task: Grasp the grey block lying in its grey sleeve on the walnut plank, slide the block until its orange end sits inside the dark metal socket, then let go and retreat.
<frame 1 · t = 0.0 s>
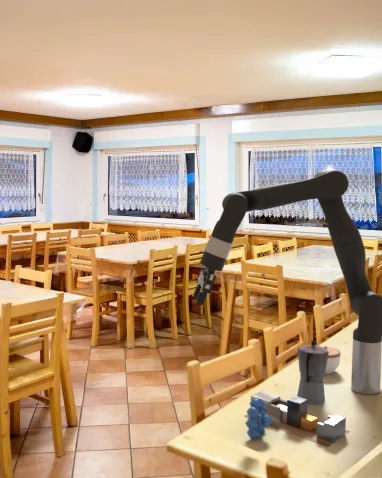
hand: (197, 301, 172), 31 cm above the table, tool tilted 20°, fingers open, 8 cm apart
grey block: (285, 408, 155), point 5 cm above the table, slide at 0.0 cm
moka pot: (311, 404, 170), on the table
plank and sleeve: (295, 428, 153), on the table
socket: (329, 440, 146), resting on plank and sleeve
grapes: (259, 441, 146), on the table
lidded jar: (324, 371, 200), on the table
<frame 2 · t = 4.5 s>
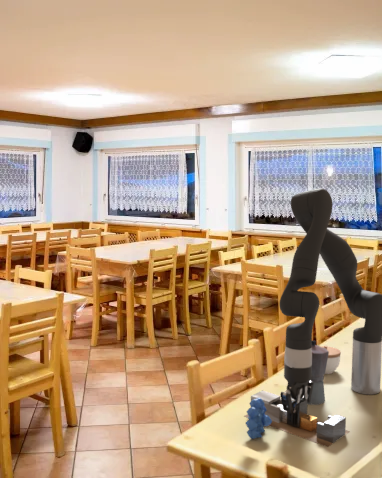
hand: (296, 421, 153), 2 cm above the table, tool pointing down, fingers closed on grey block, 4 cm apart
grey block: (285, 408, 155), point 5 cm above the table, slide at 0.0 cm, touching gripper
everything else where it was.
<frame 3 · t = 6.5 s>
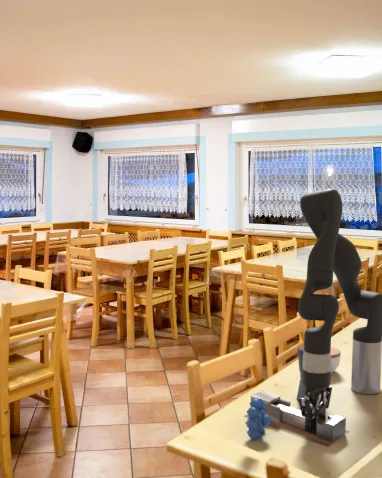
hand: (315, 427, 149), 2 cm above the table, tool pointing down, fingers closed on grey block, 4 cm apart
grey block: (303, 413, 151), point 5 cm above the table, slide at 5.8 cm, touching gripper
everything else where it was.
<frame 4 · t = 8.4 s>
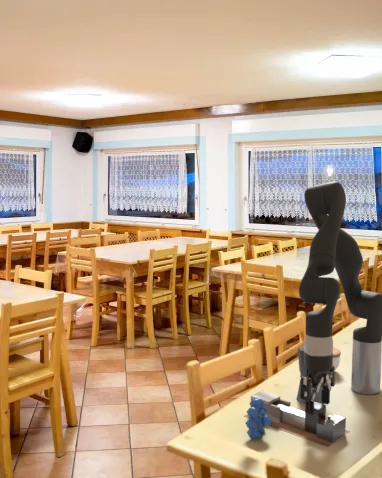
hand: (317, 408, 148), 8 cm above the table, tool pointing down, fingers open, 8 cm apart
grey block: (303, 413, 151), point 5 cm above the table, slide at 5.8 cm
everything else where it was.
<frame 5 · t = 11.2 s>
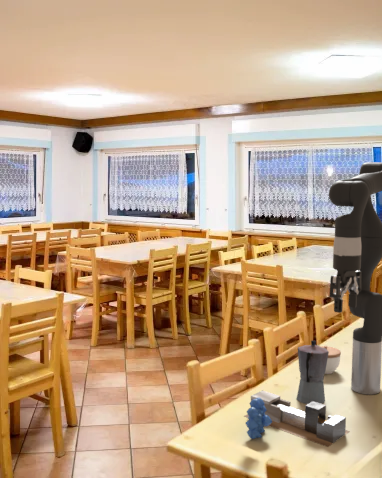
hand: (345, 309, 154), 33 cm above the table, tool pointing down, fingers open, 8 cm apart
nothing on the table moved.
at the end: grey block slide at 5.8 cm; the gripper is holding nothing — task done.
